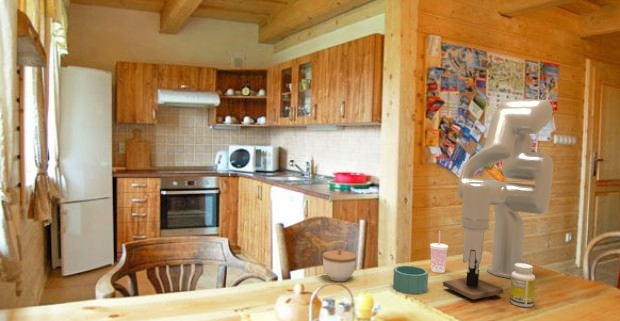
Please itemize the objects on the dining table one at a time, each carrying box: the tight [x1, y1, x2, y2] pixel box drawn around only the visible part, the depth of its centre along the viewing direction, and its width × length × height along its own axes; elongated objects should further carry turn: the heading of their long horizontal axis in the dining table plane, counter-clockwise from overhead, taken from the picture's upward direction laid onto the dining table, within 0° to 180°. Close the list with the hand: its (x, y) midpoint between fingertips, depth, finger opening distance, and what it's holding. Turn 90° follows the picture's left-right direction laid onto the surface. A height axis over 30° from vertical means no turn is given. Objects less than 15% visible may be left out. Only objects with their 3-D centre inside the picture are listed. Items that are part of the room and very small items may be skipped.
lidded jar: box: [322, 248, 357, 282], centre depth 144 cm, size 11×11×9 cm
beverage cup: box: [429, 230, 449, 274], centre depth 155 cm, size 6×6×14 cm
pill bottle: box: [509, 263, 536, 308], centre depth 126 cm, size 6×6×11 cm
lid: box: [442, 270, 504, 300], centre depth 133 cm, size 12×12×6 cm
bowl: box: [392, 264, 429, 295], centre depth 136 cm, size 10×10×6 cm
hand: (472, 283), depth 133 cm, fingers closed on lid, 3 cm apart
